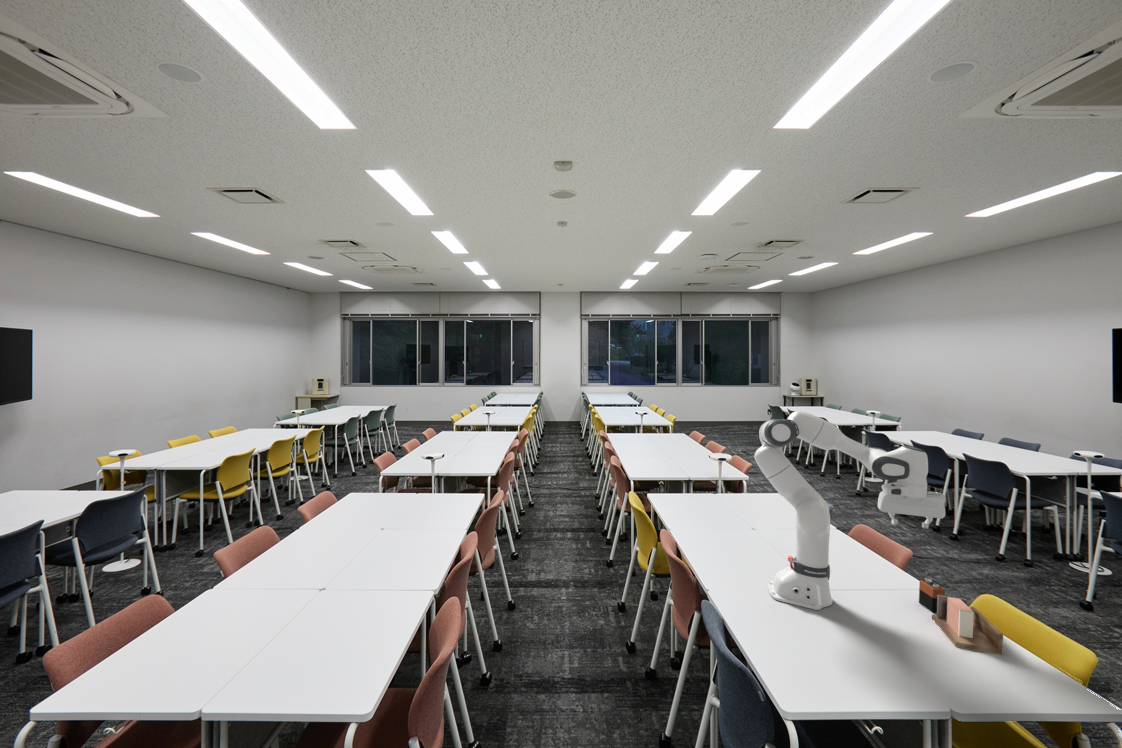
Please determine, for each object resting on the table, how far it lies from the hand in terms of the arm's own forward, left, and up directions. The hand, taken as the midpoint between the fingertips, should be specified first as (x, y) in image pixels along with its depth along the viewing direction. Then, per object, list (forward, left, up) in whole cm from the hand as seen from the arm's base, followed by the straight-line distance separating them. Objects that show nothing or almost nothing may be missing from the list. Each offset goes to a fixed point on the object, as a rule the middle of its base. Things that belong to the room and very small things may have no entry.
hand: (909, 526), depth 165 cm
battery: (+8, +1, -31) cm, 32 cm away
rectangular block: (+9, -15, -29) cm, 34 cm away
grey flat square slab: (+10, -9, -29) cm, 32 cm away
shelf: (+11, -15, -31) cm, 36 cm away
